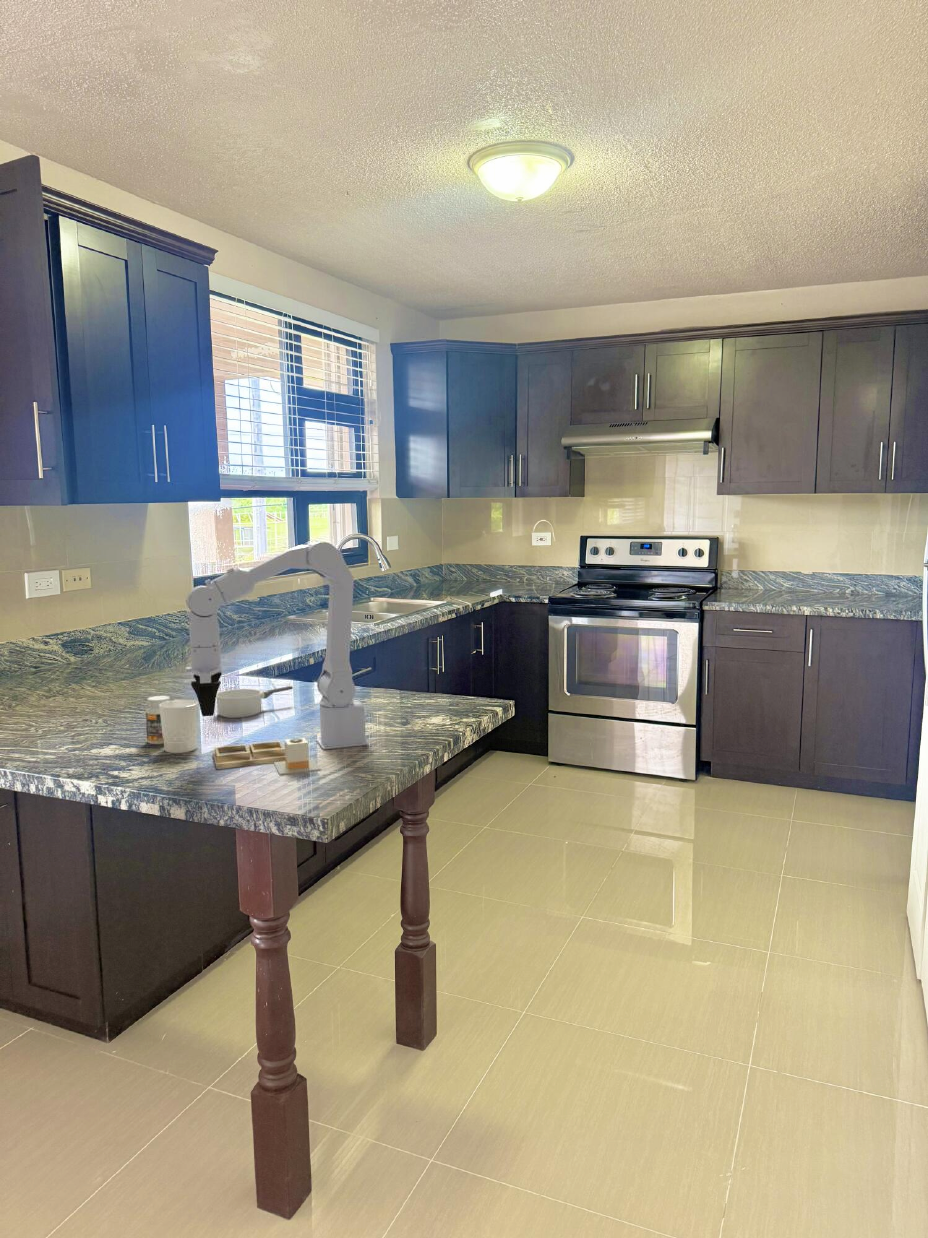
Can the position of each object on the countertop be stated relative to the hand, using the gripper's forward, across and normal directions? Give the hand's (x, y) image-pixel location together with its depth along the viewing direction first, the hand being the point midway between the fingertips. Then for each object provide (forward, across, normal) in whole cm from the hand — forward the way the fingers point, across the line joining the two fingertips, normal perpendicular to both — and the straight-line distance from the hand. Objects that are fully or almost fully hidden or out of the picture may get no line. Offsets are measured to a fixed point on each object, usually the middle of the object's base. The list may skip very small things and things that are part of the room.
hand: (208, 711), depth 171 cm
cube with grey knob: (+10, +10, +17) cm, 22 cm away
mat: (+10, +10, +17) cm, 22 cm away
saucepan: (+11, -40, +10) cm, 43 cm away
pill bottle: (+10, -18, -11) cm, 24 cm away
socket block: (+10, +1, +8) cm, 13 cm away
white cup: (+10, -10, -6) cm, 16 cm away
